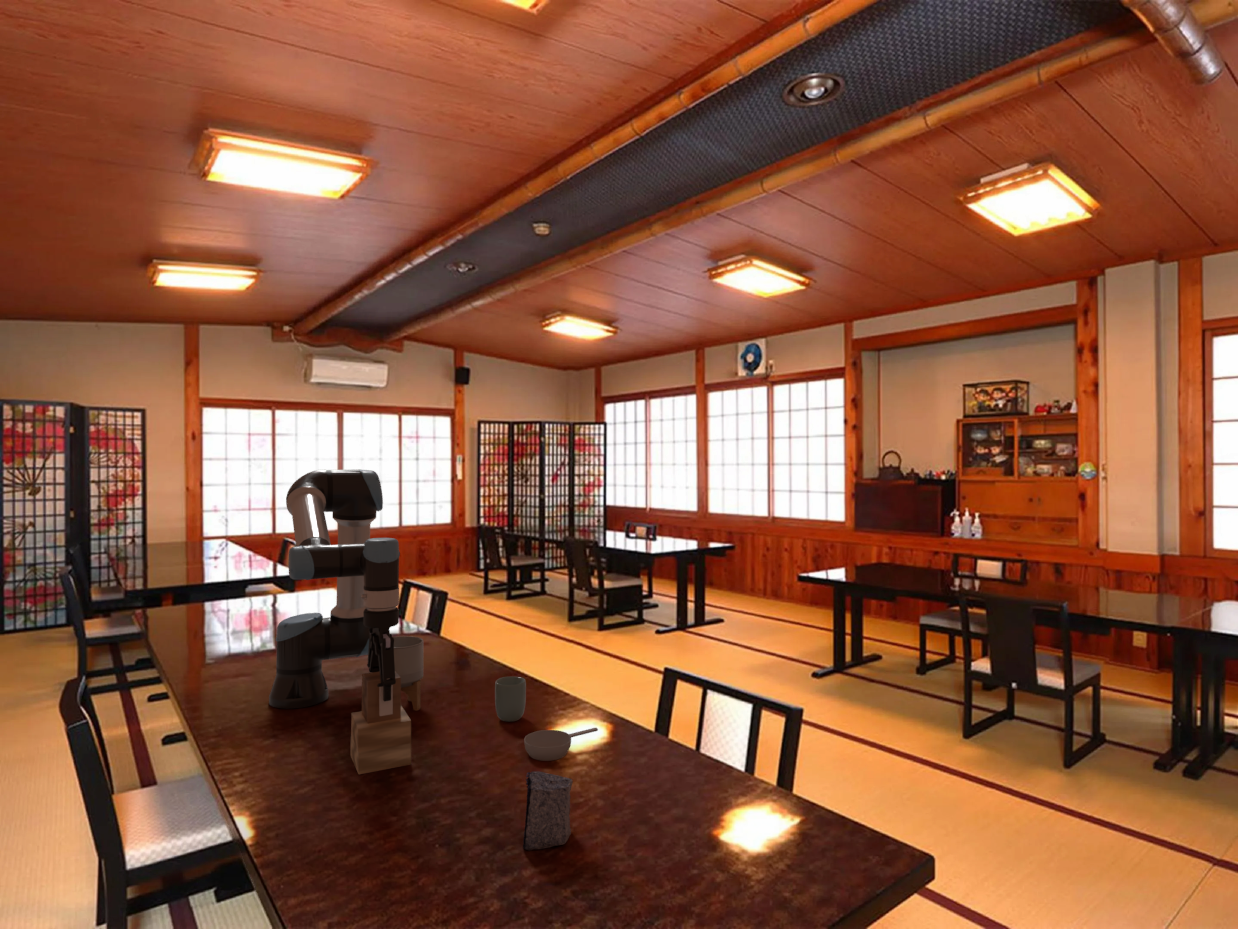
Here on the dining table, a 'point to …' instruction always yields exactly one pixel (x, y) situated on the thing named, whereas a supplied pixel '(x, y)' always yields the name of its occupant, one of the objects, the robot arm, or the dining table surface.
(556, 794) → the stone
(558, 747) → the saucepan
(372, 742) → the tower upper
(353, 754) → the tower lower
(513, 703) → the cup
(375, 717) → the walnut block
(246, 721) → the dining table surface
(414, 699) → the planter
